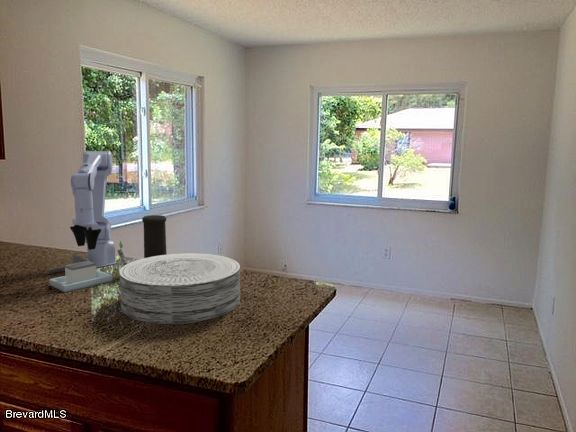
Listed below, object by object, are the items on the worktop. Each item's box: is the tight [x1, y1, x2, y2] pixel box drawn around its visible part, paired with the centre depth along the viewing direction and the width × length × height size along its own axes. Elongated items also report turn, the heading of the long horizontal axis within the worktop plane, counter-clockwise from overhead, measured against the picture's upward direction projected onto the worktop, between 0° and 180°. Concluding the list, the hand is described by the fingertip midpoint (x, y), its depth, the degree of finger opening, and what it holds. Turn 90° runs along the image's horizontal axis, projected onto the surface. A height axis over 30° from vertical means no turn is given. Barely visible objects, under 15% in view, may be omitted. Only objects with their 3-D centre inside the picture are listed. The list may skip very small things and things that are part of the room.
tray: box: [48, 269, 113, 293], centre depth 156 cm, size 16×11×2 cm
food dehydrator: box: [117, 240, 241, 325], centre depth 139 cm, size 38×34×18 cm
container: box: [141, 214, 168, 259], centre depth 173 cm, size 9×9×20 cm
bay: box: [44, 254, 92, 275], centre depth 166 cm, size 11×13×5 cm
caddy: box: [64, 261, 97, 284], centre depth 156 cm, size 8×5×6 cm, turn 140°
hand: (86, 247), depth 162 cm, fingers open, 7 cm apart
